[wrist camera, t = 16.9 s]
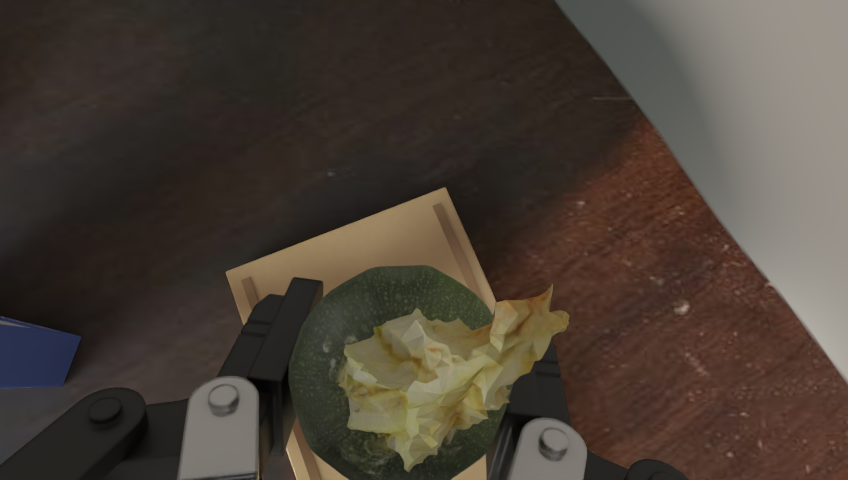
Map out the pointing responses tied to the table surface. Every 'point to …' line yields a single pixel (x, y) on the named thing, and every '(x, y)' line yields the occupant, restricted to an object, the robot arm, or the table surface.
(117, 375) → the table surface
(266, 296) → the robot arm
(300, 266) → the cutting board
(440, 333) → the vegetable
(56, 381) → the walkman
